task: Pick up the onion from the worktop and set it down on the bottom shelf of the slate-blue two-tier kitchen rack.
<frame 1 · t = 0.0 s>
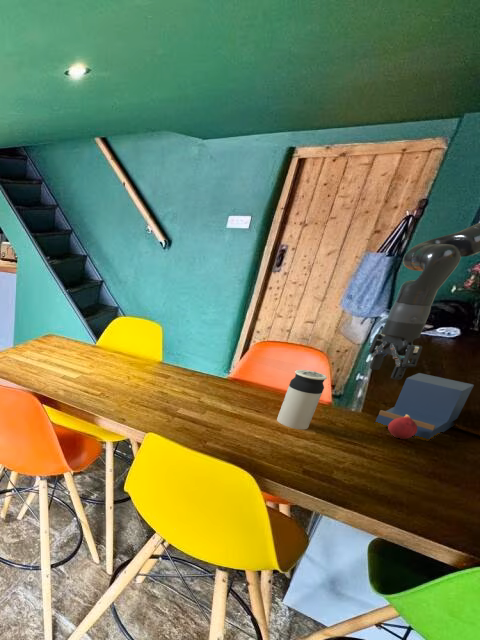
hand: (384, 374, 118), 19 cm above the countertop, tool pointing down, fingers open, 8 cm apart
onion: (396, 439, 119), on the countertop
rack: (414, 425, 127), on the countertop
travel mug: (290, 427, 127), on the countertop
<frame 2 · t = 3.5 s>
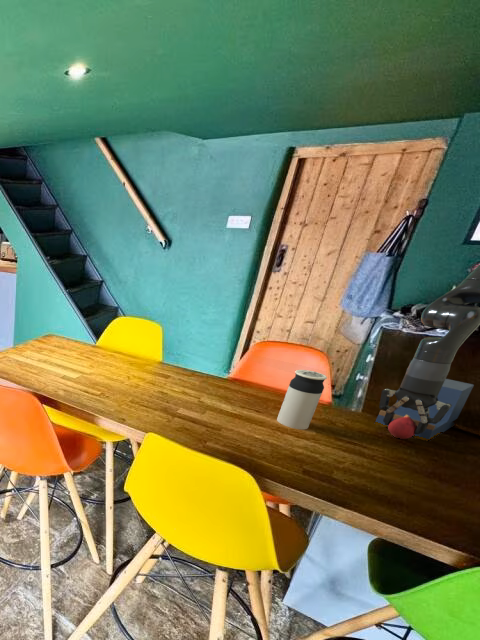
hand: (401, 428, 118), 4 cm above the countertop, tool pointing down, fingers closed on onion, 6 cm apart
onion: (396, 439, 119), on the countertop, touching gripper
everything else where it was.
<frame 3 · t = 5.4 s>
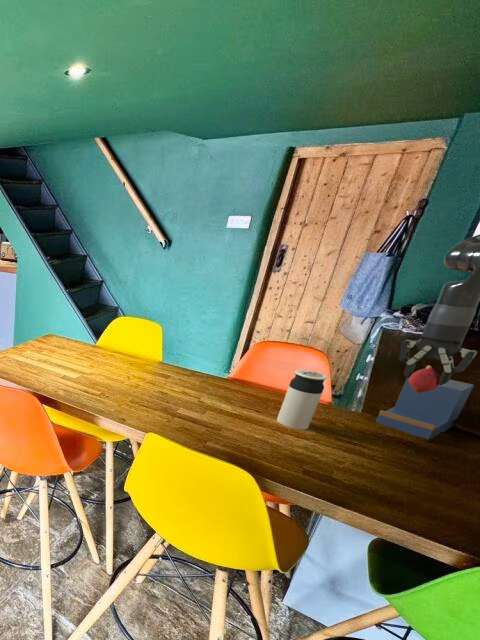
hand: (423, 380, 112), 19 cm above the countertop, tool pointing down, fingers closed on onion, 6 cm apart
onion: (417, 393, 114), point 15 cm above the countertop, touching gripper
everything else where it was.
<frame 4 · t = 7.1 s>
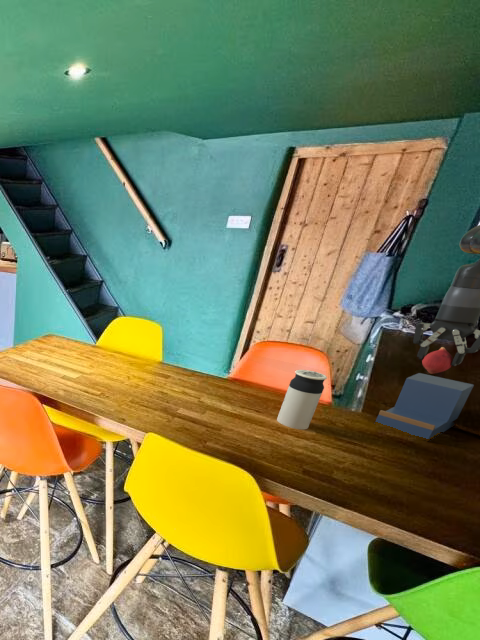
hand: (437, 362, 116), 22 cm above the countertop, tool pointing down, fingers closed on onion, 6 cm apart
onion: (431, 374, 117), point 19 cm above the countertop, touching gripper
everything else where it was.
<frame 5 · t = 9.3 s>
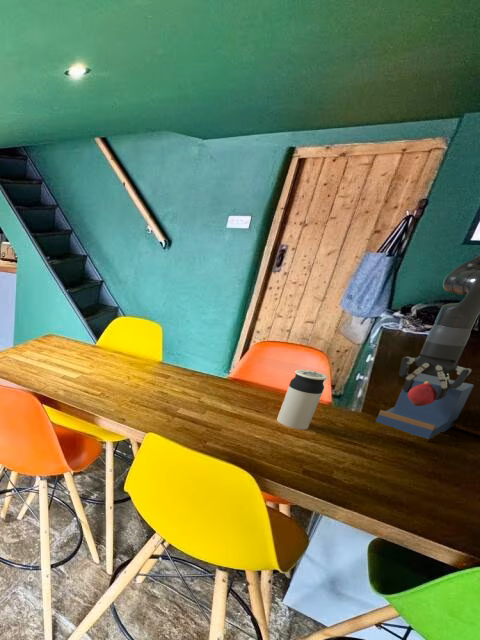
hand: (421, 395, 120), 12 cm above the countertop, tool pointing down, fingers closed on onion, 6 cm apart
onion: (415, 406, 122), point 8 cm above the countertop, touching gripper
everything else where it was.
when the fingers open (8 cm above the countertop, at t = 10.9 s): onion stays where it is, resting on rack.
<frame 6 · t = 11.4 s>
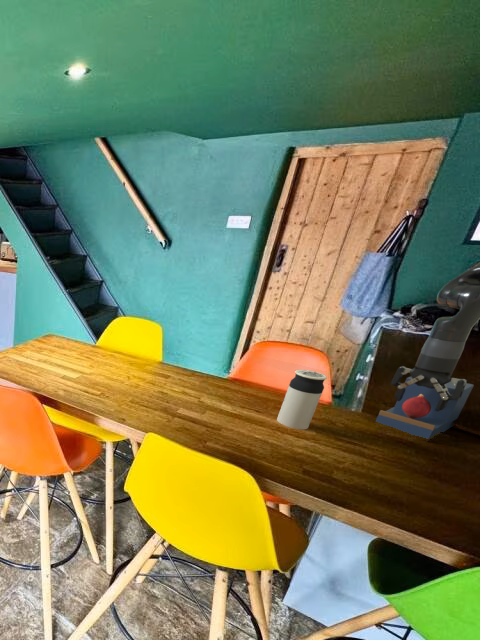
hand: (417, 405, 121), 9 cm above the countertop, tool pointing down, fingers open, 8 cm apart
onion: (410, 418, 123), point 4 cm above the countertop, touching rack
everything else where it was.
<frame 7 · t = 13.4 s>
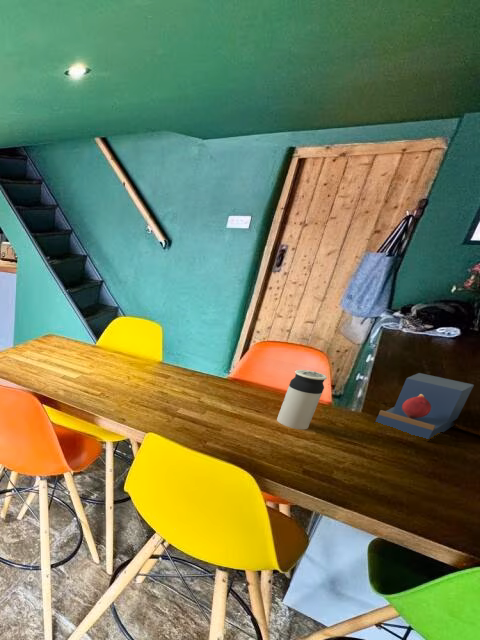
nothing on the countertop moved.
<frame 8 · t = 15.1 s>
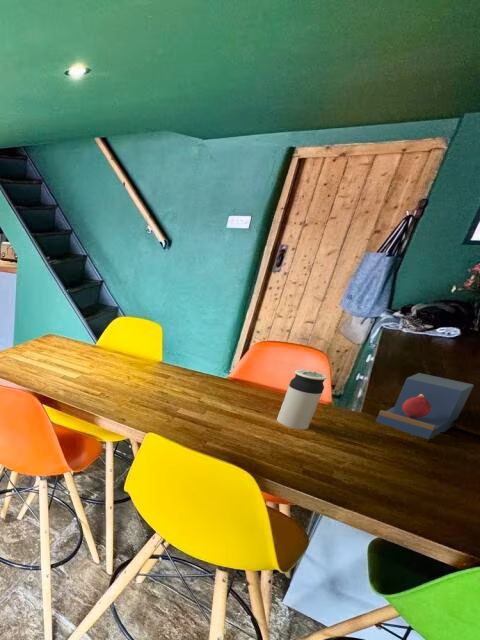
nothing on the countertop moved.
at the end: onion inside the target area on the rack (0.7 cm from its centre), point 3.8 cm above the rack's base; the gripper is holding nothing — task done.
